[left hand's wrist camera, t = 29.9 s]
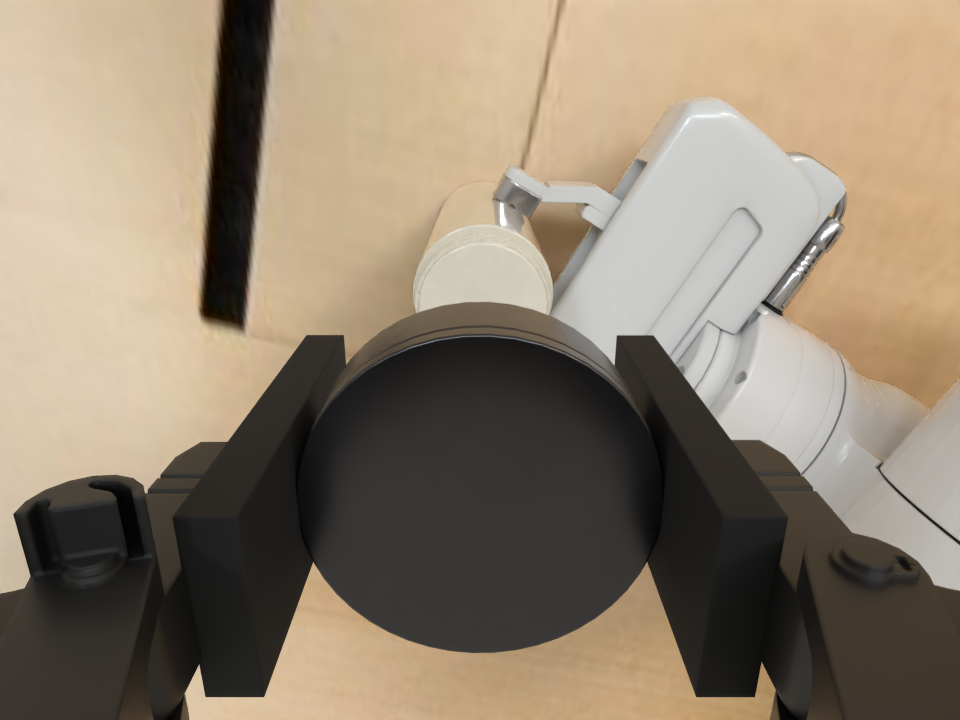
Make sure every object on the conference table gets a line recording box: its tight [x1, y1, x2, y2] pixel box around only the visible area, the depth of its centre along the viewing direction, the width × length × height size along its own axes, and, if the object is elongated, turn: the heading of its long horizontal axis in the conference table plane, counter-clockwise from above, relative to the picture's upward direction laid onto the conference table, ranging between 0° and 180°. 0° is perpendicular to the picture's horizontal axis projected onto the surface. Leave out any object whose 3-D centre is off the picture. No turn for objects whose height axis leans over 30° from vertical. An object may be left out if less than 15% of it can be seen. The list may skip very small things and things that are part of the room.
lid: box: [296, 302, 664, 653], centre depth 11 cm, size 6×6×2 cm
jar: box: [413, 181, 553, 315], centre depth 29 cm, size 5×5×15 cm
